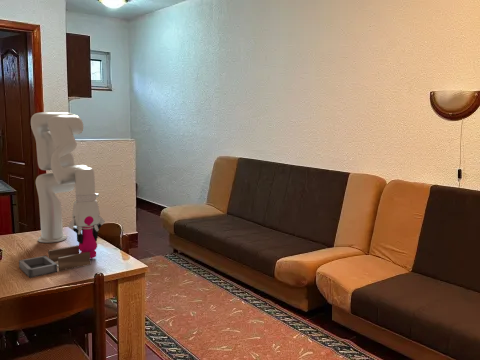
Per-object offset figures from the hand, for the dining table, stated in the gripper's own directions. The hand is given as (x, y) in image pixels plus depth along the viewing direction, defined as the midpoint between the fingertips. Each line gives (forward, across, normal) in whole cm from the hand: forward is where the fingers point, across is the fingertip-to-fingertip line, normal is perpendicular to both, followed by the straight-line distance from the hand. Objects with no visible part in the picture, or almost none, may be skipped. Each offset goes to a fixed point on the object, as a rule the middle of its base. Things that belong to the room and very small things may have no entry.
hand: (87, 241), depth 189 cm
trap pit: (+8, +20, 0) cm, 21 cm away
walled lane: (+8, +8, 0) cm, 11 cm away
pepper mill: (+7, 0, 0) cm, 7 cm away
